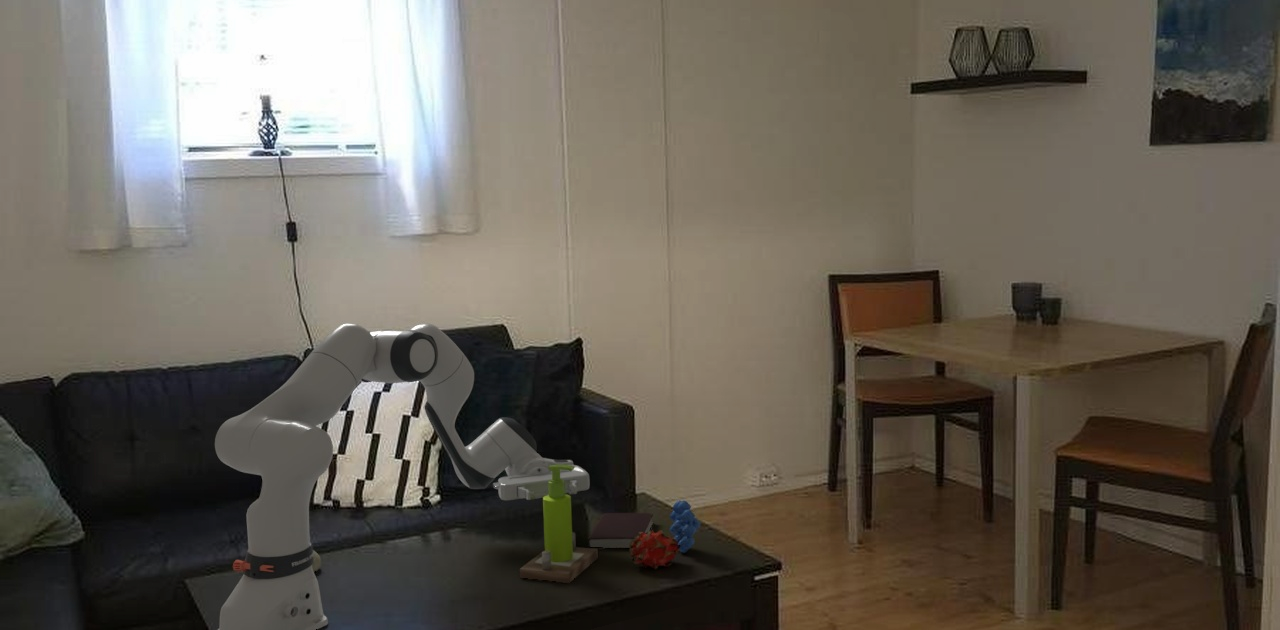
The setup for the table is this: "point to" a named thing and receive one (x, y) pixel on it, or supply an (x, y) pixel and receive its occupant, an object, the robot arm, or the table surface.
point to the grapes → (683, 525)
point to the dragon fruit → (653, 549)
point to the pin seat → (559, 565)
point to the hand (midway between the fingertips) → (552, 493)
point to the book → (619, 529)
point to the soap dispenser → (558, 517)
